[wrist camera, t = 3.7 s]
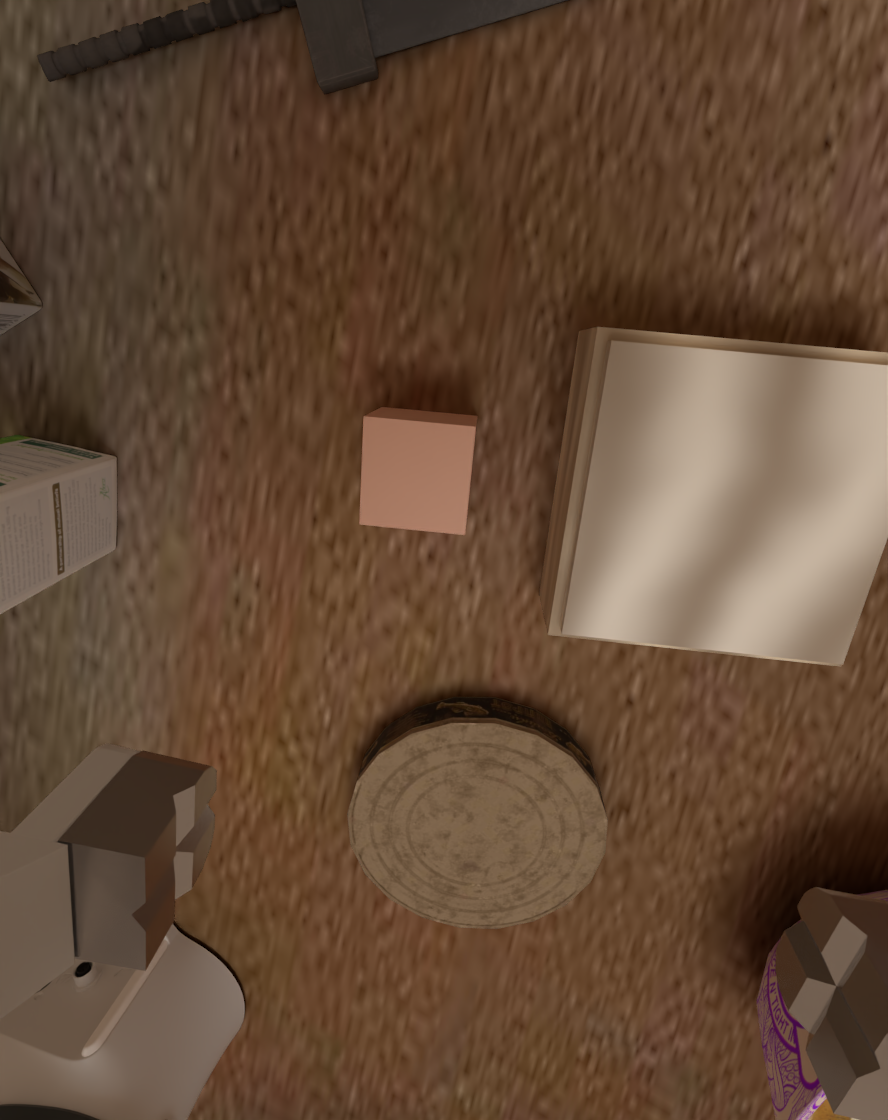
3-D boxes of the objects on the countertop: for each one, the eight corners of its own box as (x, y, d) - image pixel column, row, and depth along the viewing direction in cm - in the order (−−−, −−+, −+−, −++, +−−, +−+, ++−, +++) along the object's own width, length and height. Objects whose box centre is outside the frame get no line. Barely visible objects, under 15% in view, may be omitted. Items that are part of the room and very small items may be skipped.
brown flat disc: (366, 676, 37) (357, 703, 34) (623, 713, 36) (635, 743, 34) (348, 871, 42) (338, 909, 39) (572, 905, 42) (578, 945, 39)
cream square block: (539, 593, 34) (549, 642, 28) (578, 331, 29) (601, 325, 23) (788, 620, 33) (850, 675, 28) (869, 357, 29) (964, 358, 23)
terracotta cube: (377, 499, 33) (359, 524, 28) (382, 406, 31) (363, 416, 26) (468, 508, 33) (465, 535, 28) (477, 415, 31) (475, 426, 26)
